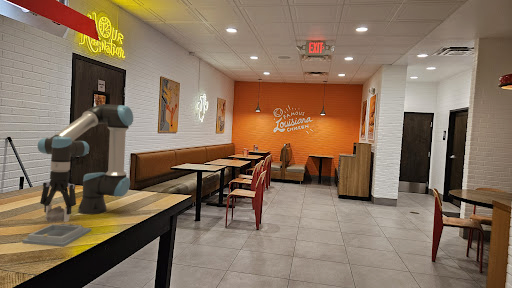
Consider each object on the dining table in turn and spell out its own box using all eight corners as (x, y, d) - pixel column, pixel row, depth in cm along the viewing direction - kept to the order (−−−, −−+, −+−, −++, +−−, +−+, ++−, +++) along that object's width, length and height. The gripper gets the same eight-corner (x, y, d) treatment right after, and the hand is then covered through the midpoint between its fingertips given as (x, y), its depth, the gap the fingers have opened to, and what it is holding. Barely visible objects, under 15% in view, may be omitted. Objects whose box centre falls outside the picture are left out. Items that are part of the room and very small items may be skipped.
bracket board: (55, 227, 160) (56, 219, 160) (91, 230, 159) (91, 222, 159) (22, 243, 138) (22, 233, 138) (63, 246, 137) (64, 237, 137)
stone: (45, 223, 141) (45, 210, 141) (45, 218, 149) (46, 205, 149) (66, 222, 145) (67, 209, 145) (66, 216, 153) (66, 204, 153)
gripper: (31, 169, 142) (29, 220, 143) (77, 173, 141) (74, 224, 142) (43, 168, 149) (40, 216, 150) (87, 171, 149) (84, 220, 150)
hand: (57, 220), depth 146 cm, fingers closed on stone, 8 cm apart
